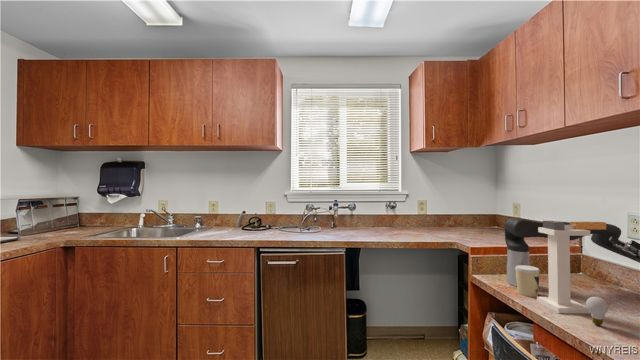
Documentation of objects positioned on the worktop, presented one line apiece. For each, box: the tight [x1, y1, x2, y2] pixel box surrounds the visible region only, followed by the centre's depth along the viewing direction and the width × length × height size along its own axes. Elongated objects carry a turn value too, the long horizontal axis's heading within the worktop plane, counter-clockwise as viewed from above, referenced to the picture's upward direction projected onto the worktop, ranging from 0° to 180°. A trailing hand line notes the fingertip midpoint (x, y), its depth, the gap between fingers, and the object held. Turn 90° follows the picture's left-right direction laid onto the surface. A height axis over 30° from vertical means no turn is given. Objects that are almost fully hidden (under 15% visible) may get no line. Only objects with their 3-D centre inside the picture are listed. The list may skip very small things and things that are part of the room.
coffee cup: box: [515, 265, 541, 298], centre depth 138 cm, size 9×9×12 cm
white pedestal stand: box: [536, 227, 591, 314], centre depth 123 cm, size 12×14×32 cm
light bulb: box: [585, 296, 610, 327], centre depth 107 cm, size 6×6×10 cm
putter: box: [542, 220, 607, 230], centre depth 123 cm, size 6×22×3 cm, turn 89°
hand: (620, 240), depth 123 cm, fingers open, 8 cm apart
